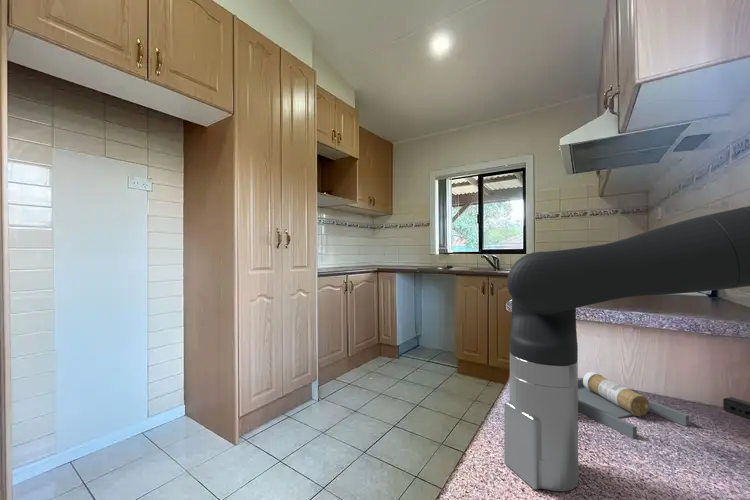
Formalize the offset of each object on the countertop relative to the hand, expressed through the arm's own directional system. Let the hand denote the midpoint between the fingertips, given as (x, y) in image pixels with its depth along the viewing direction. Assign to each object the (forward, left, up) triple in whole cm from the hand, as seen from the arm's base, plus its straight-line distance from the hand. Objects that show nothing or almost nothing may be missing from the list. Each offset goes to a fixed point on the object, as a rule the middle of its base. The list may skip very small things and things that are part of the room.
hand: (726, 403), depth 51 cm
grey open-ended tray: (0, +19, -9) cm, 21 cm away
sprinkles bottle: (+2, +14, -7) cm, 15 cm away
